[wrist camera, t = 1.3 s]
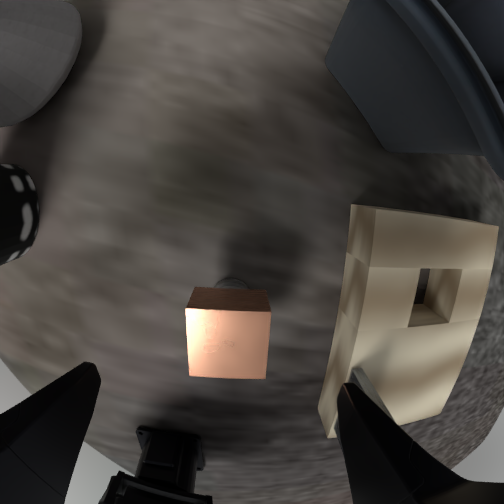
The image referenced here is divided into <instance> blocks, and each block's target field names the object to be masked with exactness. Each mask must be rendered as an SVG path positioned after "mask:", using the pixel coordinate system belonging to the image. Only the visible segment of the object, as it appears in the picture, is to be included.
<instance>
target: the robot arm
mask: <svg viewBox="0 0 504 504" xmlns="http://www.w3.org/2000/svg"><path fill="white" fill-rule="evenodd" d="M100 385H101V378H100V375H99V373H98V370H97V367H96V365H95V364H94V363H90V362H83V363H82V364H80V365H78V366H77V367H75V368H74V369H72V370H71V371H69V372H67V373H66V374H64V375H63V376H61V377H60V378H58V379H56V380H55V381H53V382H52V383H50V384H49V385H47V386H45V387H44V388H42V389H41V390H39V391H37V392H36V393H34V394H33V395H31V396H30V397H28V398H26V399H25V400H23V401H22V402H21V403H19V404H17V405H15V406H14V407H12V408H10V409H9V410H7V411H6V412H4V413H2V414H0V504H64V502H65V497H66V494H67V491H68V487H69V484H70V480H71V477H72V474H73V471H74V467H75V464H76V461H77V458H78V455H79V452H80V449H81V446H82V443H83V440H84V437H85V435H86V432H87V429H88V426H89V424H90V421H91V418H92V415H93V411H94V407H95V404H96V400H97V396H98V392H99V388H100ZM337 411H338V421H339V432H340V440H341V445H342V450H343V454H344V459H345V464H346V469H347V473H348V478H349V483H350V489H351V494H352V499H353V504H504V483H493V482H475V481H470V480H467V479H464V478H462V477H460V476H459V475H457V474H456V473H455V472H453V471H452V470H450V469H449V468H447V467H446V466H445V465H443V464H442V463H440V462H439V461H438V460H436V459H435V458H434V457H433V456H431V455H430V454H429V453H428V452H427V451H425V450H424V449H423V448H422V447H421V446H420V445H419V444H418V443H417V442H416V441H413V439H412V438H411V437H410V436H409V435H408V434H407V433H406V432H405V431H404V430H403V429H402V428H401V427H400V426H399V425H398V424H397V423H396V422H395V421H394V420H392V419H391V418H390V417H389V416H388V415H387V414H386V413H385V412H384V411H383V410H382V409H381V408H380V407H379V406H378V405H377V404H376V403H375V402H374V401H373V400H372V399H371V398H370V397H369V396H368V395H367V394H366V393H365V392H364V391H363V390H362V389H361V388H360V387H359V386H358V385H357V384H355V383H354V382H347V383H343V384H342V386H341V388H340V391H339V394H338V396H337ZM136 434H137V437H138V440H139V443H140V446H141V449H142V453H141V457H140V460H139V463H138V466H137V470H136V473H135V476H134V477H133V476H130V475H128V474H125V473H124V472H121V471H119V472H118V474H117V476H112V477H111V480H110V482H109V485H108V487H107V490H106V491H105V493H104V495H103V496H102V498H101V499H100V501H99V503H98V504H213V502H212V496H209V495H206V496H205V495H199V494H195V493H194V487H195V478H196V471H202V470H203V469H204V465H203V456H202V448H201V438H200V437H199V436H198V435H193V434H183V433H174V432H166V431H159V430H153V429H147V428H141V427H139V428H137V430H136Z"/></svg>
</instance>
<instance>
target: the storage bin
mask: <svg viewBox="0 0 504 504" xmlns="http://www.w3.org/2000/svg"><path fill="white" fill-rule="evenodd" d="M325 64H326V66H327V68H328V69H329V71H330V72H331V73H332V74H333V76H334V77H335V78H336V79H337V81H338V82H339V83H340V84H341V86H342V87H343V88H344V90H345V91H346V92H347V94H348V95H349V96H350V98H351V99H352V101H353V102H354V103H355V105H356V106H357V108H358V109H359V110H360V112H361V113H362V115H363V116H364V118H365V119H366V121H367V122H368V124H369V125H370V127H371V129H372V130H373V132H374V133H375V135H376V137H377V138H378V140H379V141H380V143H381V145H382V146H383V148H385V149H386V150H387V151H389V152H392V153H443V154H464V155H479V156H485V158H486V159H487V161H488V163H489V164H490V166H491V167H492V169H493V170H494V171H495V173H496V174H497V175H498V176H499V177H500V178H501V179H503V180H504V0H350V2H349V4H348V6H347V8H346V11H345V13H344V15H343V17H342V20H341V22H340V24H339V27H338V29H337V32H336V34H335V36H334V39H333V41H332V43H331V46H330V48H329V50H328V53H327V55H326V58H325Z"/></svg>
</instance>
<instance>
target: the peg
mask: <svg viewBox="0 0 504 504" xmlns="http://www.w3.org/2000/svg"><path fill="white" fill-rule="evenodd" d="M270 321H271V309H270V305H269V301H268V297H267V293H266V290H255V289H249V288H248V287H247V285H246V284H245V283H243V282H242V281H240V280H238V279H233V278H228V279H224V280H221V281H220V282H218V283H217V284H216V285H215V286H214V288H205V287H195V288H194V290H193V293H192V295H191V297H190V300H189V302H188V305H187V307H186V325H187V344H188V360H189V374H190V376H199V377H215V378H238V379H265V376H266V366H267V355H268V344H269V333H270Z"/></svg>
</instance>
